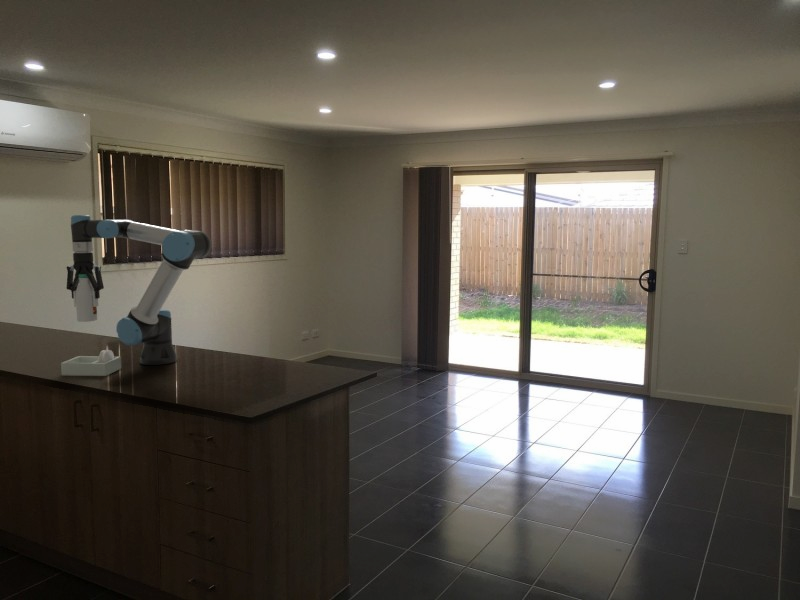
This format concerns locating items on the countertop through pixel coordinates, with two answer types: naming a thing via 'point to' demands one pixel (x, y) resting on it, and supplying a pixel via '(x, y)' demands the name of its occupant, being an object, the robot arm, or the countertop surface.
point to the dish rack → (92, 365)
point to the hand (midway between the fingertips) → (86, 306)
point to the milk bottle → (85, 300)
